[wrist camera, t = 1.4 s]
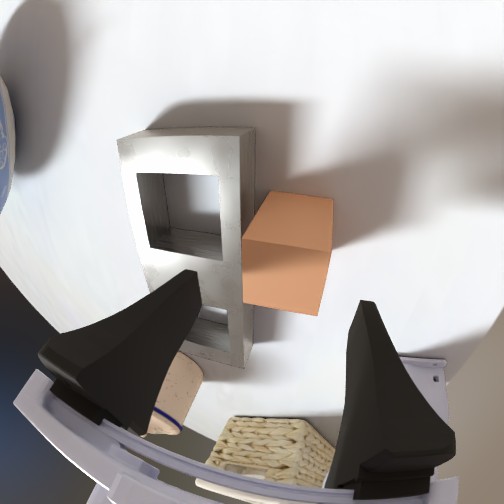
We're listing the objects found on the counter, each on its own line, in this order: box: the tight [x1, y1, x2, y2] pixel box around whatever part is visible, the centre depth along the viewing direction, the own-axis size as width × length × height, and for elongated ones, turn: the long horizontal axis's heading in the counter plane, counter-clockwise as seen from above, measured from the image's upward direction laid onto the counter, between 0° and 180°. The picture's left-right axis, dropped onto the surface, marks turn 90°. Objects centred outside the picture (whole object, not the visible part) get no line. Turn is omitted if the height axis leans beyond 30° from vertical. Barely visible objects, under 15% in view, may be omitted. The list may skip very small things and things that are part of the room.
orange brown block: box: [242, 191, 333, 316], centre depth 15 cm, size 4×4×6 cm
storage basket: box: [195, 417, 335, 504], centre depth 35 cm, size 24×16×15 cm
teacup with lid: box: [141, 351, 204, 437], centre depth 30 cm, size 12×9×12 cm
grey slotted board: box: [117, 127, 255, 369], centre depth 20 cm, size 20×8×3 cm, turn 0°
